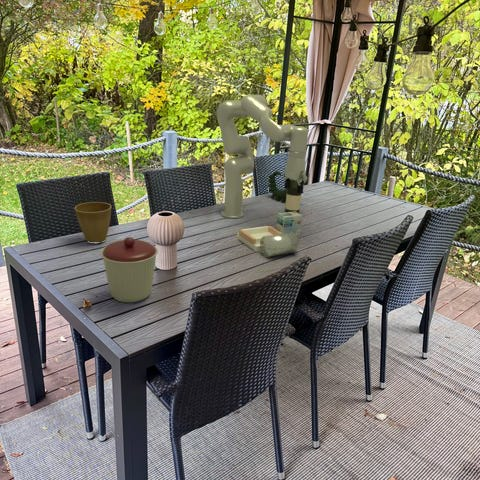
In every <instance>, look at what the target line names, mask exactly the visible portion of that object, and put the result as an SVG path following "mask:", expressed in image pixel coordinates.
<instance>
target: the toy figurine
mask: <svg viewBox="0 0 480 480" xmlns="http://www.w3.org/2000/svg"><path fill="white" fill-rule="evenodd" d="M278 175H279V176H280V177H281V176H282V173H281V172H280V171H278V170H276V171H274V172H273V173H271V174H270V175H269V176H268V178H269V179H268V185H267V187H269V189H268V190H267V192H268V193H272V194H271V196H270V198H271V199H274V198H275V202H278V201H281V202H282V203H284V202H286V195H287V188H284V189H282V190H281V189H278V187H277V182H276V177H277V176H278ZM304 193H305V192H304V191H303V193H301V195H302V194H304Z"/></svg>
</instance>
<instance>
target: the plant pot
mask: <svg viewBox="0 0 480 480" xmlns="http://www.w3.org/2000/svg"><path fill="white" fill-rule="evenodd" d="M74 210H75V211H74V213H75V215H76V218H77V222H78V224H79V227H80V230H81V232H82V234H83V236H84V238H85V240H86V242H87V241H89V242H102V241H104V240H105V241H106V239H107V236H108V233H109V229H110V228H109V227H110V223H111V215H112V204H110V203H107V202H103V201H91V202H89V201H88V202H83V203H80V204H77V205H75V207H74Z"/></svg>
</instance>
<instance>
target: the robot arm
mask: <svg viewBox="0 0 480 480" xmlns="http://www.w3.org/2000/svg"><path fill="white" fill-rule="evenodd" d="M272 116H273V110H272V109H271V107H269V106H268V100H267V98H266V97H265V96H264V95H261V94H246V95H245V96H242V98H241V99H240V100H239V99H235V100H234V99H233V100H232V99H230V100H229V99H228V100H224V101H222V102H221V103H220V104H219V106H218V108H217V111H216V119H217V122H218V125H219V129H220V134H221V140H222V145H223V151H224V152H225V154H226V155H227V156H228V155H229V156H234V157H230V158H228V159H227V160H226V161H225V163H224V167H223V168H224V176H225V183H224V186H225V187H224V204H223V205H222V207H223V210H222V211H221V212H220V216H222V217H224V218H226V219H227V218H228V219H242V218H244V216H245V213H244V211H242V210H243V209H242V206H243V190H244V182H243V178H242V175H247V174H250V173H252V172H253V170H254V169H255V160H254V154H253V153H254V152H253V148H252V143H251V141H250V139H249V137H247V136H246V135H239V132H238V129H237V125H236V123H235V122H234V120H233V118H234V119H235V118H236V119H238V118H247V117H251V118H252V119H253V120H254V121H256V122H257V123H258V124H259V128H260V130H261V132H262V133H263V134H264V135H265V136H266V137H267V138H269V139H270V140H271V141H273V142H275V143H281V142H290V143H289V152H288V156H287V159H286V163H285V168H284V169H283V173H284V174H283V176H284V180H285V181H284V189H286V188H290V187H291V180H295V181H296V180H297V182H298V185H297V194H300V193H302V194H304V193H303V192H304V186H305V184H306V183H307V181H308V176H307V175H306V155H307V145H308V138H309V137H308V136H309V129H308V127H305V126H296V125H293V124H278V123H276V122H275V121H274V120H273V119H271V118H272ZM236 155H237V156H236Z"/></svg>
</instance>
